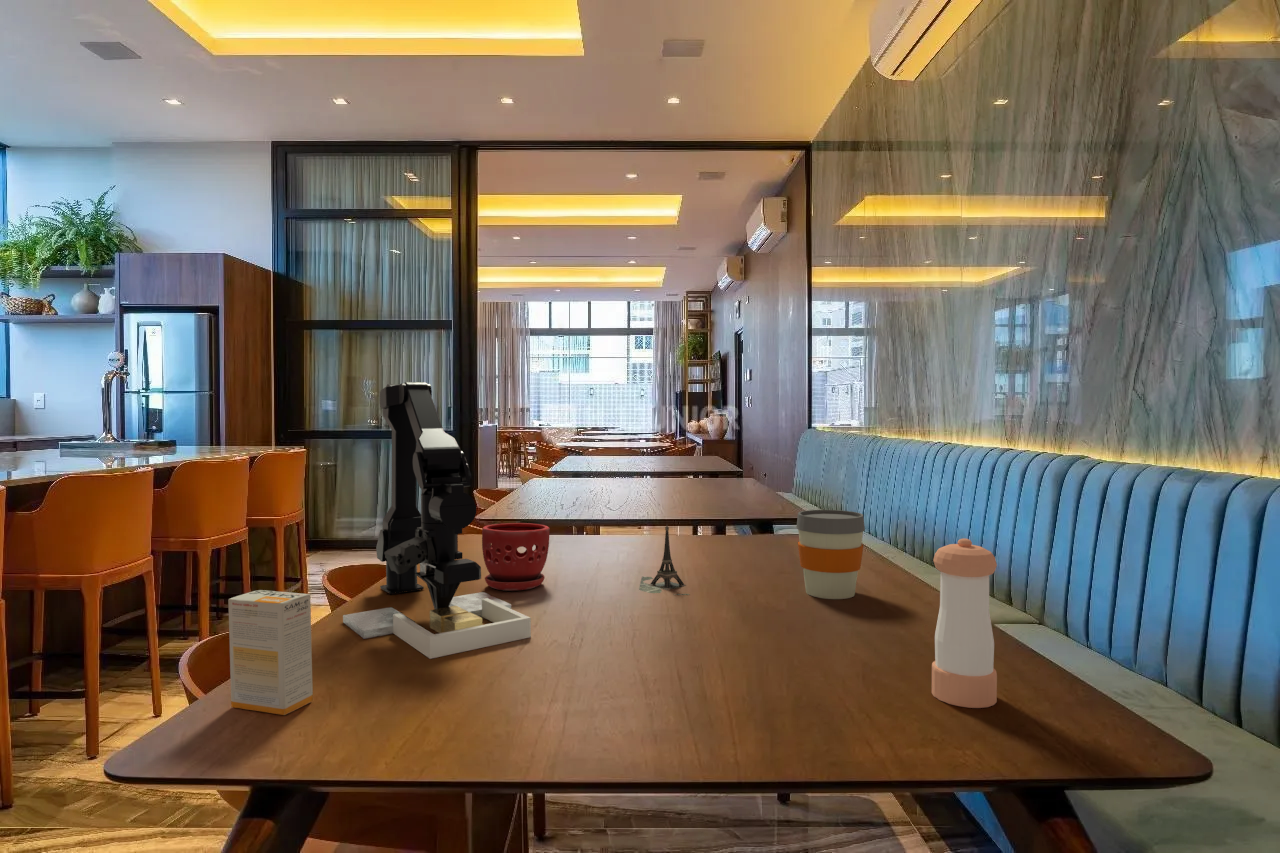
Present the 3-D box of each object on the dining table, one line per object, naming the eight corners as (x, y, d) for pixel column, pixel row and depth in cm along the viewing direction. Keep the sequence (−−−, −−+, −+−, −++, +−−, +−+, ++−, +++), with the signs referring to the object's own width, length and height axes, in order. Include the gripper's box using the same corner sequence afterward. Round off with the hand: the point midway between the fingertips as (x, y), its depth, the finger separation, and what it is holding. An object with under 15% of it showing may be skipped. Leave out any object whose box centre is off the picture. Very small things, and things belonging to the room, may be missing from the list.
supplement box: (315, 701, 89) (313, 593, 89) (283, 717, 85) (282, 603, 84) (261, 693, 92) (259, 587, 92) (228, 708, 87) (226, 597, 87)
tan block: (429, 627, 119) (429, 610, 119) (456, 622, 122) (456, 605, 122) (441, 634, 115) (441, 616, 115) (468, 628, 118) (467, 611, 118)
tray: (393, 633, 116) (393, 614, 116) (487, 615, 126) (487, 598, 126) (430, 658, 104) (429, 637, 104) (530, 637, 114) (530, 617, 114)
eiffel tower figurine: (640, 579, 155) (640, 515, 154) (689, 579, 154) (689, 515, 154) (637, 597, 140) (637, 527, 139) (691, 598, 139) (691, 527, 139)
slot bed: (343, 622, 122) (343, 615, 122) (483, 598, 137) (483, 591, 137) (364, 638, 113) (363, 630, 113) (511, 611, 128) (511, 604, 128)
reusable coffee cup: (872, 590, 142) (873, 512, 142) (853, 605, 132) (853, 520, 131) (809, 582, 149) (809, 507, 149) (786, 595, 138) (786, 515, 138)
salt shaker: (992, 713, 85) (994, 546, 85) (925, 700, 89) (926, 540, 88) (1000, 692, 91) (1001, 537, 91) (937, 681, 95) (938, 532, 95)
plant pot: (544, 594, 140) (544, 531, 140) (475, 594, 141) (475, 531, 140) (553, 578, 153) (553, 520, 153) (490, 578, 154) (489, 520, 153)
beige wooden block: (442, 634, 116) (442, 616, 116) (469, 629, 118) (469, 611, 118) (455, 641, 112) (454, 623, 112) (482, 636, 115) (482, 618, 115)
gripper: (371, 519, 123) (372, 612, 124) (411, 533, 109) (413, 639, 109) (435, 513, 130) (436, 601, 131) (482, 526, 115) (483, 626, 116)
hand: (440, 616), depth 121 cm, fingers closed
